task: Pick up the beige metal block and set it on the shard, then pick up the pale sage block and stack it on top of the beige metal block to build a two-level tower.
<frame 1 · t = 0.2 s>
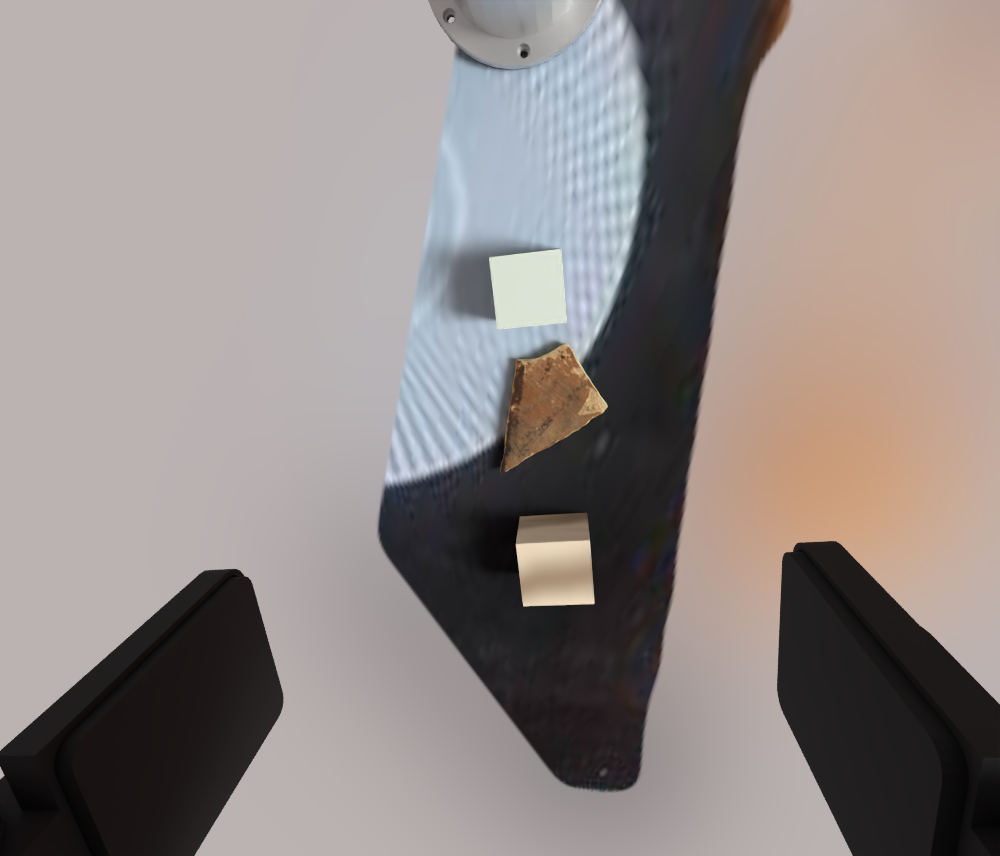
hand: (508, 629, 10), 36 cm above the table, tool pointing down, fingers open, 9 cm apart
sage block: (531, 285, 43), on the table
beige metal block: (555, 543, 50), on the table
shard: (555, 410, 47), on the table
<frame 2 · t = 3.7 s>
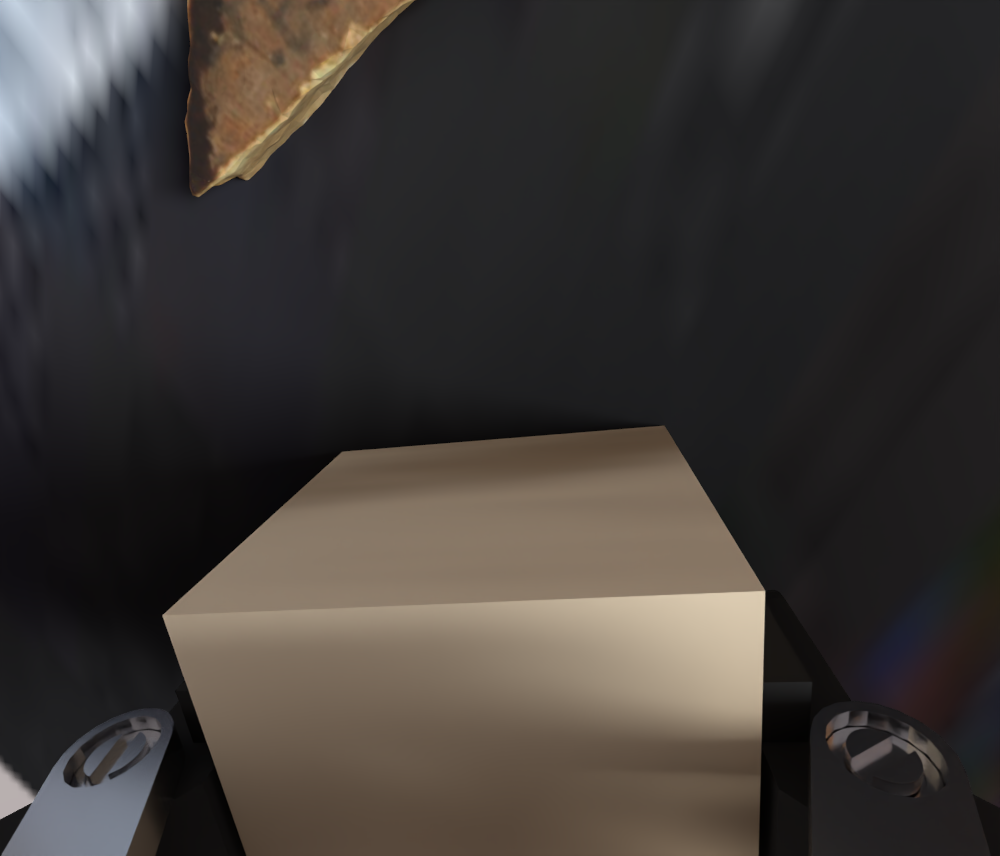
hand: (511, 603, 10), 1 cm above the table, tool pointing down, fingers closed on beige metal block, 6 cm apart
beige metal block: (514, 580, 11), on the table, touching gripper
when the fingers open (4 cm above the table, at t = 8.5 s): beige metal block drops 2 cm, resting on shard.
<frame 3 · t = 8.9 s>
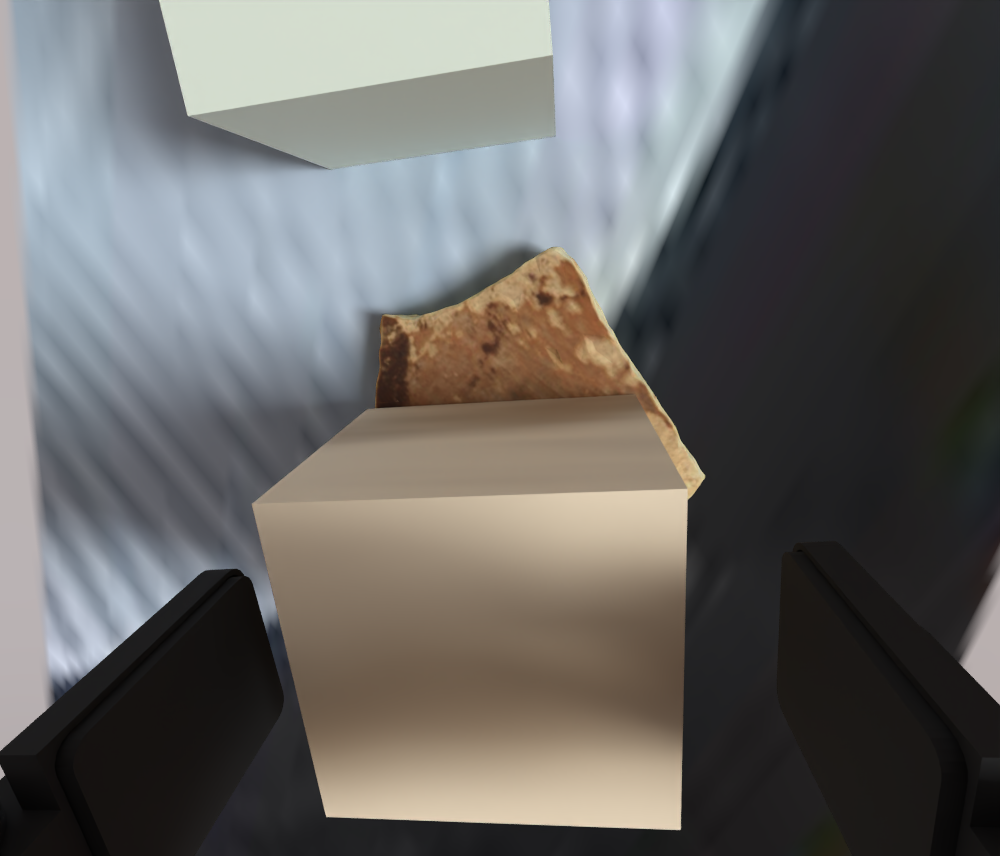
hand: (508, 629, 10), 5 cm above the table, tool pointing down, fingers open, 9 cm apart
sage block: (423, 20, 11), on the table
beige metal block: (507, 523, 13), point 1 cm above the table, touching shard
shard: (529, 482, 15), on the table, touching beige metal block
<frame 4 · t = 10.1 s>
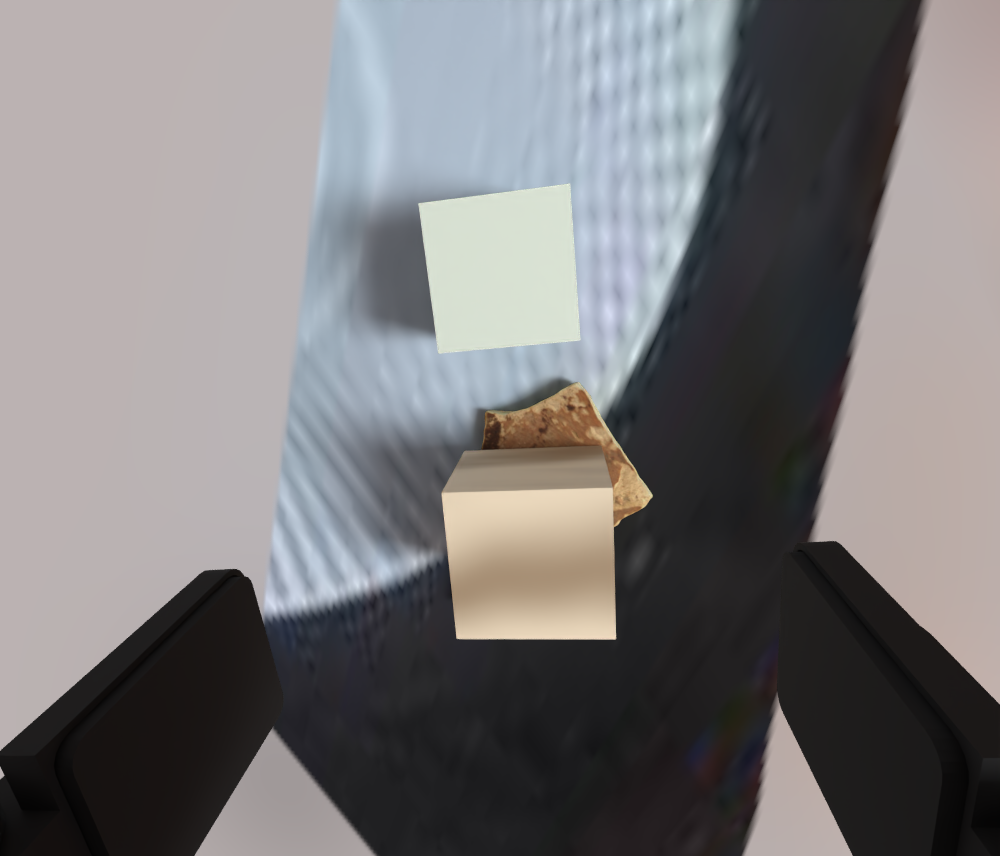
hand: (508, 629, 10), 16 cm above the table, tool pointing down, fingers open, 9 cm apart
sage block: (513, 274, 23), on the table
beige metal block: (535, 511, 25), point 1 cm above the table, touching shard
shard: (558, 498, 27), on the table, touching beige metal block
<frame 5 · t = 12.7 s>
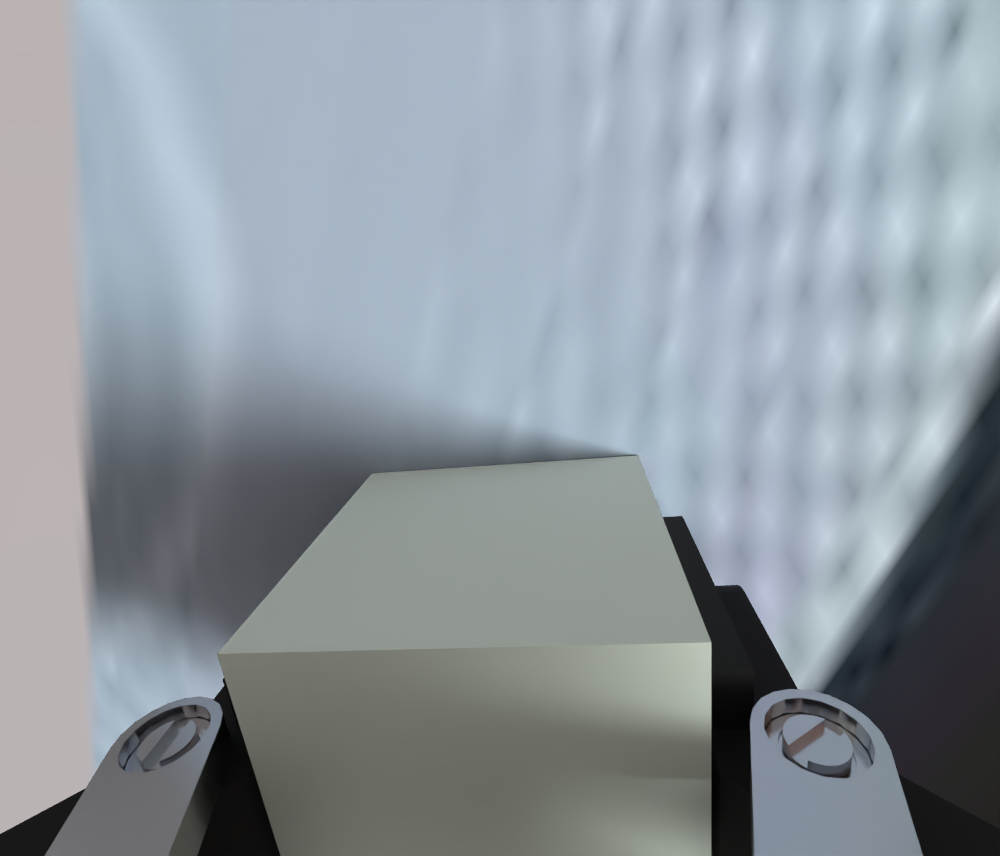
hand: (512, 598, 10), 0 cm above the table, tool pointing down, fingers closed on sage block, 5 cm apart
sage block: (514, 581, 11), on the table, touching gripper
when the fingers open (9 cm above the table, at t = 16.8 s): sage block drops 2 cm, resting on beige metal block.
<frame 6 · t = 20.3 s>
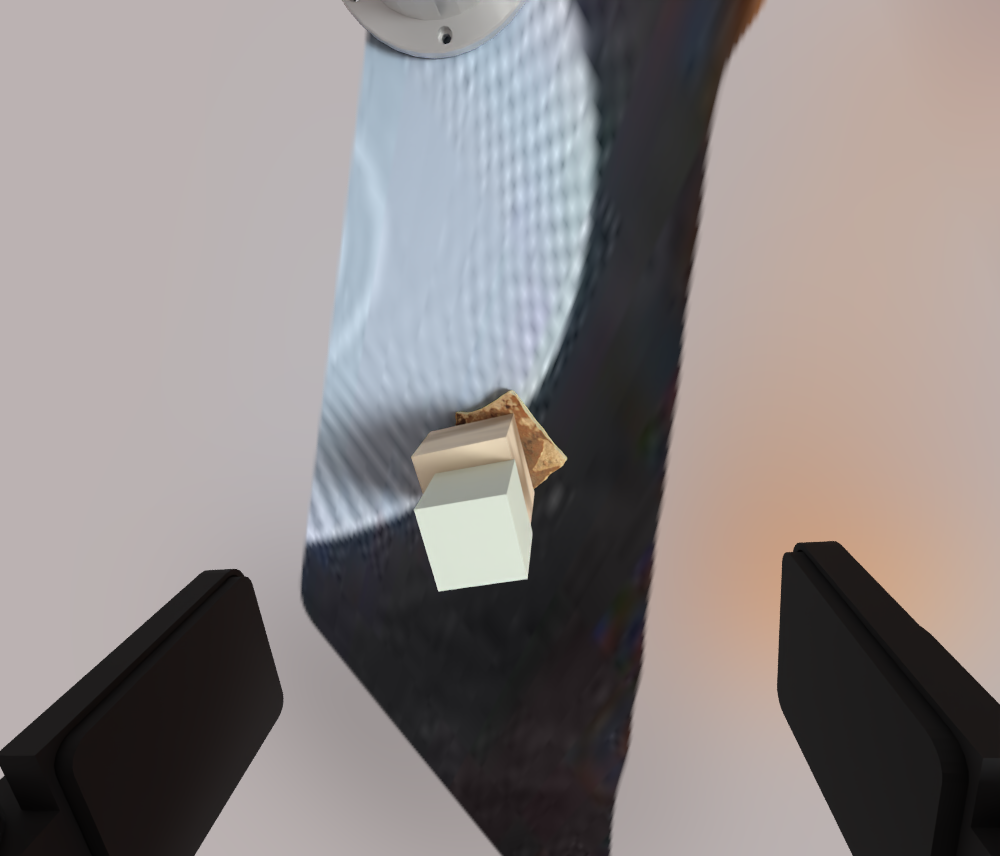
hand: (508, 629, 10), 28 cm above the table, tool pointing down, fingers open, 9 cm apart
sage block: (484, 503, 34), point 6 cm above the table, touching beige metal block
beige metal block: (482, 462, 38), point 1 cm above the table, touching shard, sage block
shard: (509, 465, 40), on the table, touching beige metal block
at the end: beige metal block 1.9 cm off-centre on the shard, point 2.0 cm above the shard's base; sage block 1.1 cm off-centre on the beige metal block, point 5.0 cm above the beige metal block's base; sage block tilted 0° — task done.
